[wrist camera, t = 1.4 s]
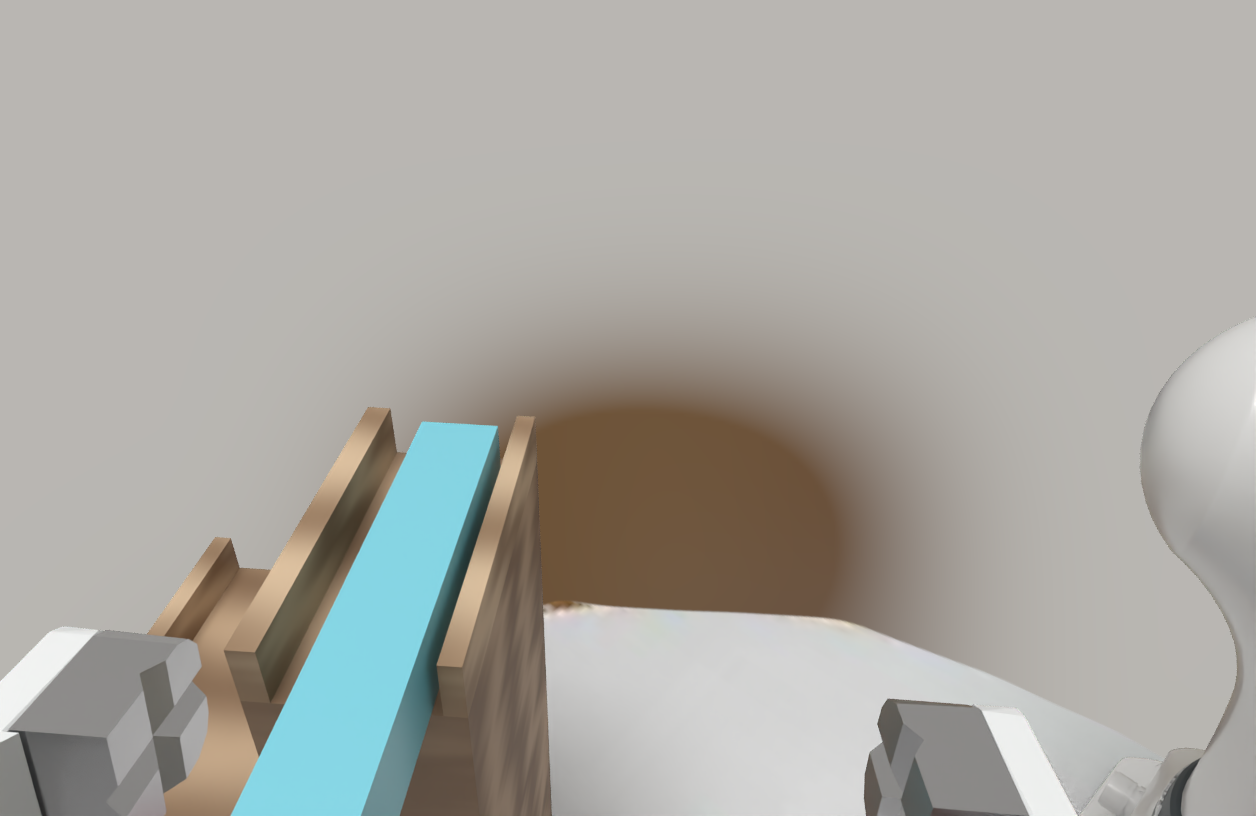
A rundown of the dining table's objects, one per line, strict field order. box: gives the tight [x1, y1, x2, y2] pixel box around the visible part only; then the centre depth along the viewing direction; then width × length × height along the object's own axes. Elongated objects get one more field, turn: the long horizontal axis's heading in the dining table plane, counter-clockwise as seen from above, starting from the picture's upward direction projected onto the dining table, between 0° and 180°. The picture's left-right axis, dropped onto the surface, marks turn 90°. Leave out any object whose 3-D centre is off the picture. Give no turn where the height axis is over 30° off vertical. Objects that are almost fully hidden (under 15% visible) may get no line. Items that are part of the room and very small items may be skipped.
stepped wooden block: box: [147, 407, 552, 816], centre depth 41 cm, size 14×16×30 cm
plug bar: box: [231, 422, 501, 816], centre depth 28 cm, size 21×3×3 cm, turn 176°
